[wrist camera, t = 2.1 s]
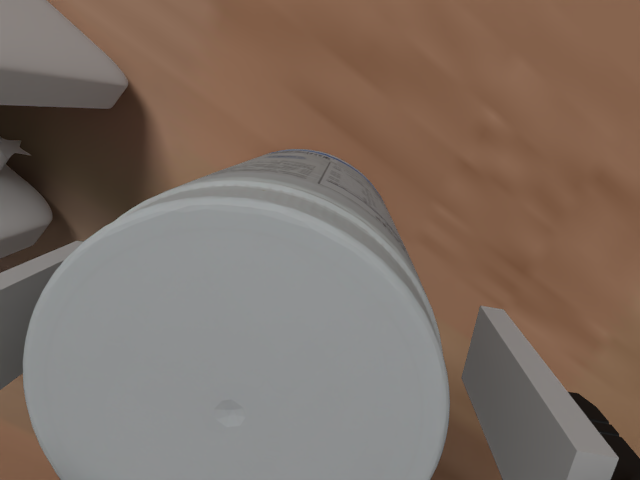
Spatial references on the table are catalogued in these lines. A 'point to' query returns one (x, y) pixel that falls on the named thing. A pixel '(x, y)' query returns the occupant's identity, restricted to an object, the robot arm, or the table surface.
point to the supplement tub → (241, 336)
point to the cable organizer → (43, 98)
